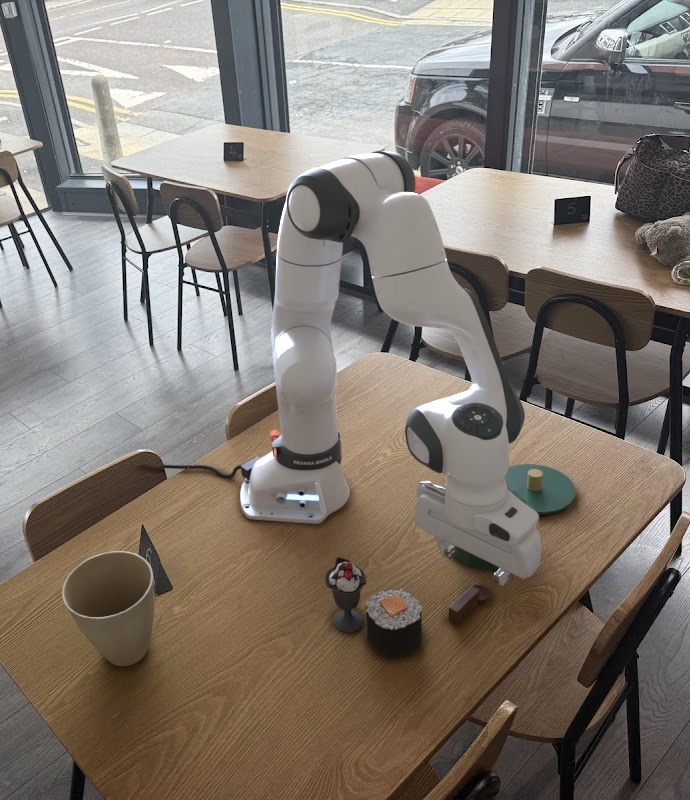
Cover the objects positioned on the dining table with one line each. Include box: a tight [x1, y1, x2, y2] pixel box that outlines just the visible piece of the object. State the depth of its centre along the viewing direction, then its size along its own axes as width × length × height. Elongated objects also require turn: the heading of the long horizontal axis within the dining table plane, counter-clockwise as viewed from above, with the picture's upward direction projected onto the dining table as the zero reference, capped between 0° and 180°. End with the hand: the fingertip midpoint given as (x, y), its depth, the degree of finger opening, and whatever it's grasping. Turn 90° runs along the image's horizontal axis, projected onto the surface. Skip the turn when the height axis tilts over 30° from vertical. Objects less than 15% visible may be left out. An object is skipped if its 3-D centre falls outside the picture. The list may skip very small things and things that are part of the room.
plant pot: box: [61, 550, 155, 667], centre depth 131 cm, size 15×15×16 cm
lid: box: [505, 463, 577, 516], centre depth 151 cm, size 15×15×5 cm
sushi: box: [365, 588, 423, 660], centre depth 126 cm, size 8×8×8 cm
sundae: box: [324, 556, 367, 633], centre depth 129 cm, size 7×7×15 cm
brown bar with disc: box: [448, 584, 491, 625], centre depth 131 cm, size 9×3×3 cm, turn 131°
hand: (473, 568), depth 127 cm, fingers open, 8 cm apart
